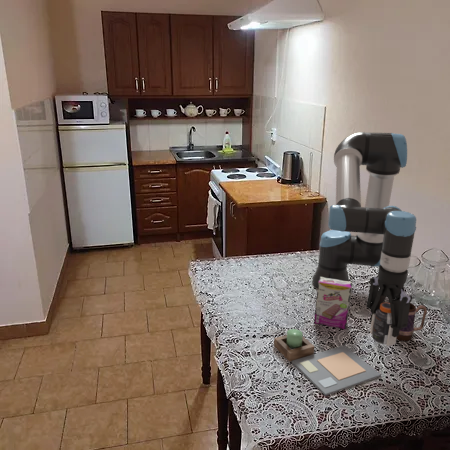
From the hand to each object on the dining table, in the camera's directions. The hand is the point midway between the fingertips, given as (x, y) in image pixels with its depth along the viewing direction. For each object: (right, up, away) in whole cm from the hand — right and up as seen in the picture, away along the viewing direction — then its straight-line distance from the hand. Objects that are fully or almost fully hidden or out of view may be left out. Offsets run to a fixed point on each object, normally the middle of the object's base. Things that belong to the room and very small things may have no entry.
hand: (382, 338), depth 126 cm
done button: (-25, -4, +8) cm, 26 cm away
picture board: (-14, -9, 0) cm, 17 cm away
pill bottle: (0, 0, 0) cm, 1 cm away
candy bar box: (-9, -2, +25) cm, 26 cm away
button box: (-25, -6, +9) cm, 27 cm away
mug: (+14, -4, +18) cm, 23 cm away
